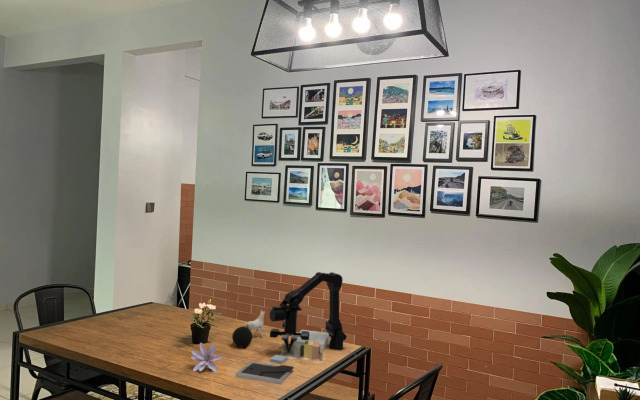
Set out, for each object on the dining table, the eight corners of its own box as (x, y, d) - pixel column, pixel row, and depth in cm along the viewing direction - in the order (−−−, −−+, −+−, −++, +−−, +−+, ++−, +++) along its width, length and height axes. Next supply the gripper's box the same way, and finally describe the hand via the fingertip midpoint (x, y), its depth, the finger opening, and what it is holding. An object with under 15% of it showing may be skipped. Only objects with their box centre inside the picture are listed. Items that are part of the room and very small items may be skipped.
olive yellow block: (312, 354, 236) (313, 341, 236) (312, 358, 230) (312, 345, 230) (304, 353, 237) (305, 340, 236) (303, 358, 231) (304, 344, 230)
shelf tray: (322, 356, 238) (322, 345, 238) (321, 363, 228) (322, 352, 228) (281, 353, 239) (282, 343, 239) (279, 360, 229) (280, 349, 229)
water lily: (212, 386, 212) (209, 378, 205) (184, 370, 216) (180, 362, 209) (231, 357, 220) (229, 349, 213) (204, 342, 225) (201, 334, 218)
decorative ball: (228, 347, 243) (229, 327, 242) (238, 342, 252) (239, 323, 252) (245, 351, 239) (246, 331, 239) (255, 345, 249) (256, 326, 248)
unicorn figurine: (270, 334, 268) (271, 310, 268) (250, 343, 251) (251, 318, 251) (259, 332, 272) (261, 308, 271) (238, 341, 254) (240, 315, 254)
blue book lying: (287, 363, 227) (287, 356, 227) (281, 367, 221) (281, 361, 221) (275, 360, 229) (276, 354, 229) (269, 365, 223) (269, 358, 223)
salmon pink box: (318, 354, 237) (319, 342, 237) (318, 359, 230) (319, 346, 230) (312, 353, 237) (313, 341, 237) (312, 358, 230) (312, 346, 230)
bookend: (300, 353, 236) (301, 343, 236) (299, 357, 230) (300, 347, 230) (294, 353, 236) (295, 343, 236) (293, 357, 230) (293, 347, 230)
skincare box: (291, 351, 243) (322, 354, 240) (291, 340, 243) (322, 343, 240) (301, 339, 264) (330, 342, 260) (301, 329, 264) (330, 331, 260)
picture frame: (293, 373, 216) (250, 365, 222) (293, 366, 216) (250, 359, 222) (281, 386, 201) (235, 378, 207) (281, 379, 201) (235, 371, 207)
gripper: (310, 317, 241) (308, 348, 241) (273, 314, 242) (271, 345, 242) (309, 322, 230) (307, 355, 230) (270, 319, 230) (268, 352, 231)
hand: (288, 352), depth 233 cm, fingers closed
